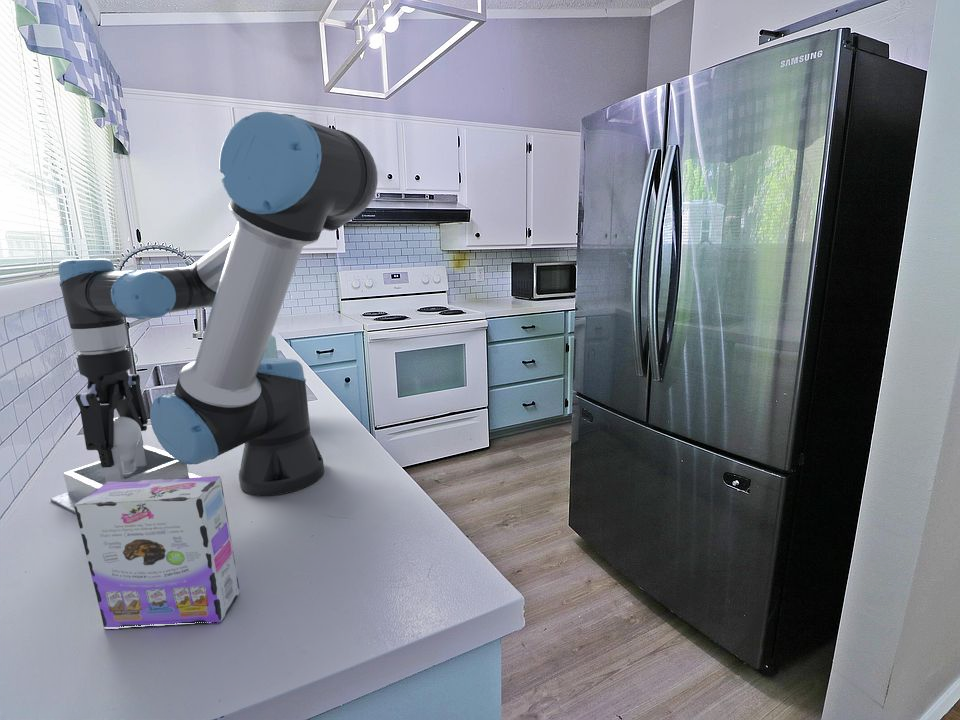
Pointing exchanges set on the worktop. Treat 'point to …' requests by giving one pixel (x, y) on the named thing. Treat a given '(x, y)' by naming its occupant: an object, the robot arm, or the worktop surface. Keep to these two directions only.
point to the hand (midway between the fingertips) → (127, 473)
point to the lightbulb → (126, 442)
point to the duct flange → (93, 476)
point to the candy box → (159, 551)
